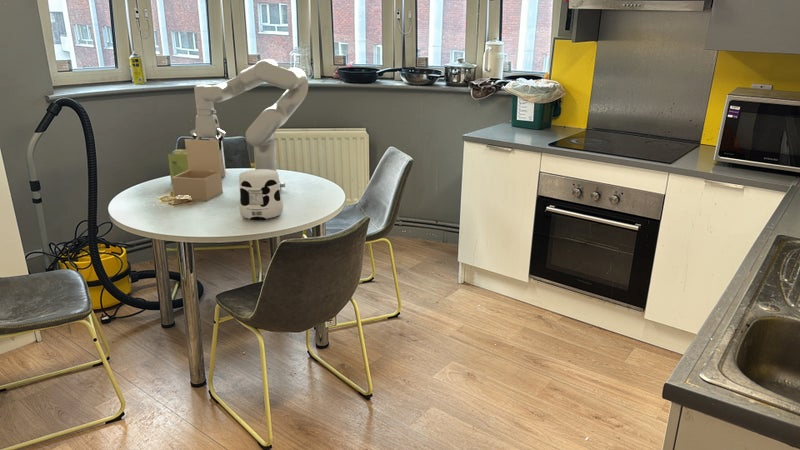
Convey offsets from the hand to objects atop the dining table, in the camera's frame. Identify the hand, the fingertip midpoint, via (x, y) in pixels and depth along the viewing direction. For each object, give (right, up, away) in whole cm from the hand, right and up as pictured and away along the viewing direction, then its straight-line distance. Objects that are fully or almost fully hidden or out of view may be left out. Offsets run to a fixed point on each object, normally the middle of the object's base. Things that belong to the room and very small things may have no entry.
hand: (209, 149), depth 281 cm
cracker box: (-5, -9, +30) cm, 32 cm away
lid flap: (-1, -3, -5) cm, 6 cm away
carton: (-3, -22, -6) cm, 23 cm away
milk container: (+32, -32, -35) cm, 57 cm away
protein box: (-14, -14, +16) cm, 25 cm away
